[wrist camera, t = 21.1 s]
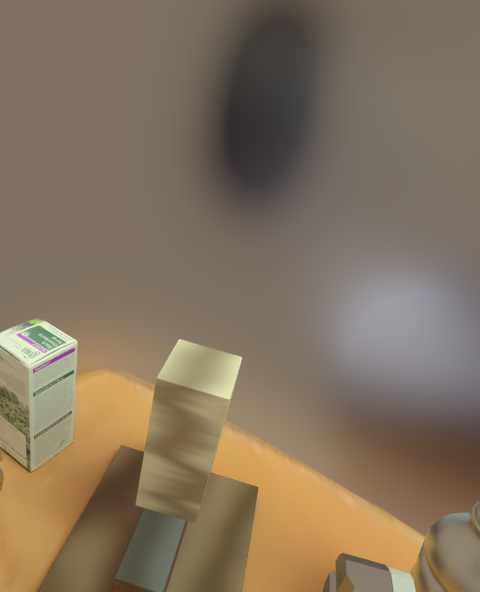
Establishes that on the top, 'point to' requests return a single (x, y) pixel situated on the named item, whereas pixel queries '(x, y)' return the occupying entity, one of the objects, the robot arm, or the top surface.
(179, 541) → the ridge
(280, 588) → the top surface
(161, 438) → the ash post
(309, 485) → the top surface
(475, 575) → the plastic bottle
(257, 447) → the top surface
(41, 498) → the top surface
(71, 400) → the syrup box
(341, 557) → the robot arm
